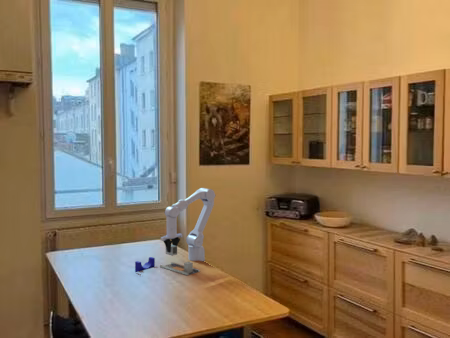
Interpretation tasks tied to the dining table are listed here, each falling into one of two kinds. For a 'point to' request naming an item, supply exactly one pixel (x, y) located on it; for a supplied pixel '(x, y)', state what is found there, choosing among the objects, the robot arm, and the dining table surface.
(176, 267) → the rail
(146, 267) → the cable clip
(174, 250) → the pale grey block
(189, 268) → the small hollow grey box
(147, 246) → the dining table surface
